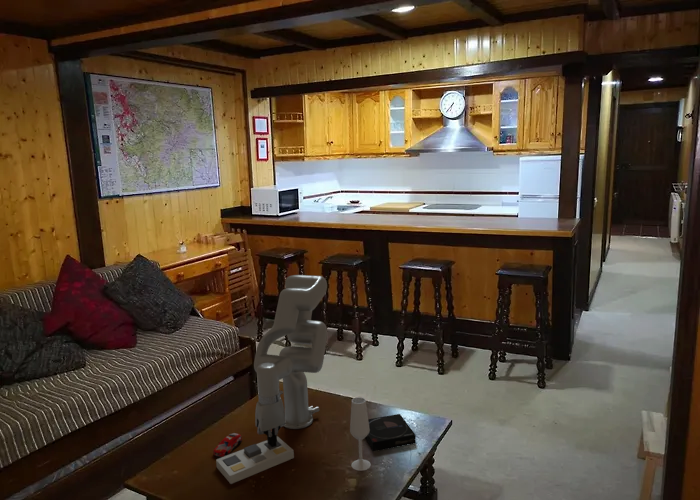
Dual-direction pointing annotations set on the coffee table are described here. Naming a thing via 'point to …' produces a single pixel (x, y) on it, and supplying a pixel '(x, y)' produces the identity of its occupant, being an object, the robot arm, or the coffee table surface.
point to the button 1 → (231, 460)
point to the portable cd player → (389, 432)
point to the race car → (227, 445)
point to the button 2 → (271, 446)
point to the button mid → (252, 450)
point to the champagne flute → (359, 429)
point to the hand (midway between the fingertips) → (272, 444)
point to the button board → (254, 461)
